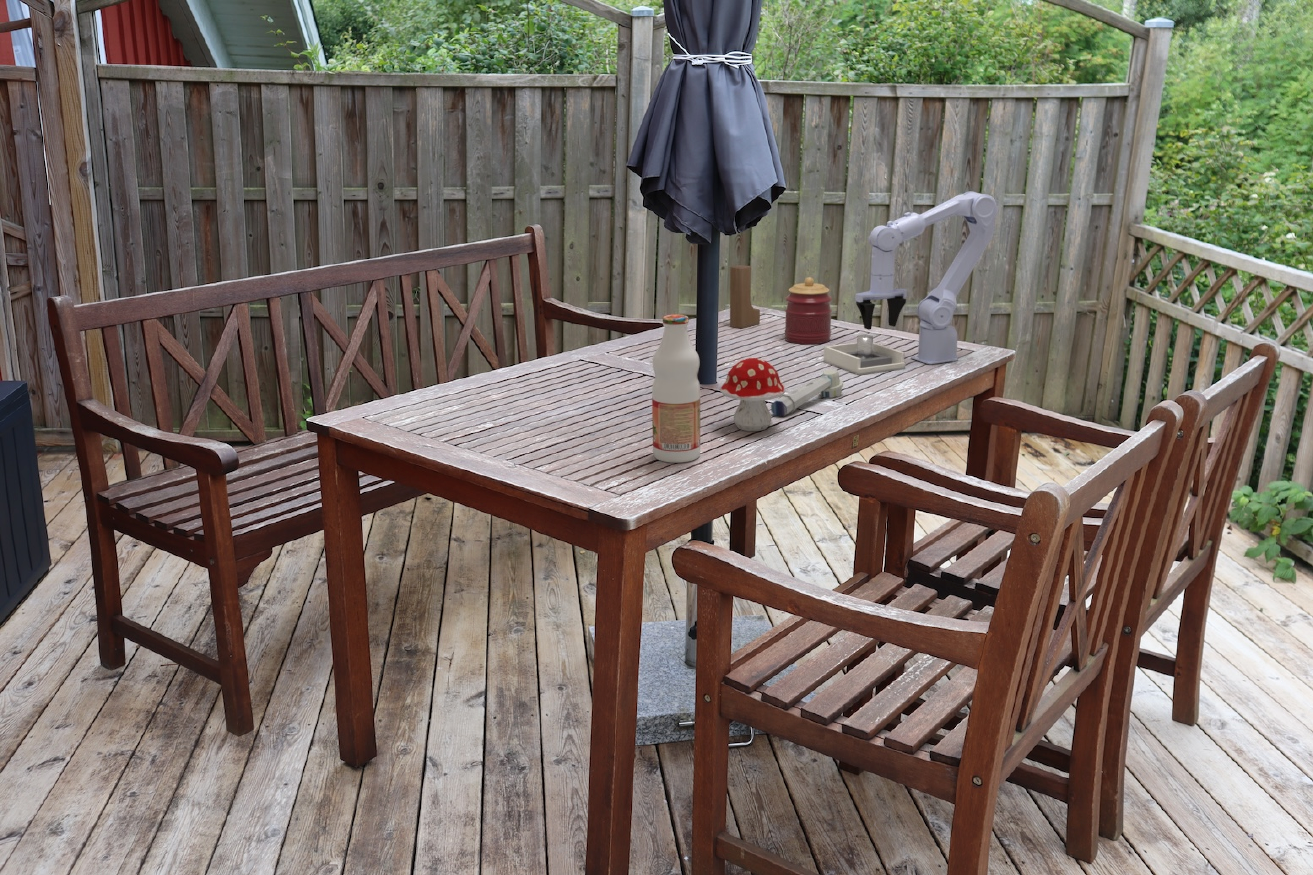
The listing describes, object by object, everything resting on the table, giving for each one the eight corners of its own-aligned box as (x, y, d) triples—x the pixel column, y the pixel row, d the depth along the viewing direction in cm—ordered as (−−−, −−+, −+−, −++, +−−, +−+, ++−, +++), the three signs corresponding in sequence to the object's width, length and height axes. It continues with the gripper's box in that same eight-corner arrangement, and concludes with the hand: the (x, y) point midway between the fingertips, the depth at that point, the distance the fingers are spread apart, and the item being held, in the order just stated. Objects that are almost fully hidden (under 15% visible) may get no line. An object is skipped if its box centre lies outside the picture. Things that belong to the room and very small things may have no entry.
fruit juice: (675, 467, 225) (674, 323, 217) (643, 456, 232) (640, 316, 224) (710, 456, 232) (710, 316, 223) (677, 445, 238) (676, 309, 230)
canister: (786, 345, 324) (787, 281, 318) (782, 334, 336) (784, 273, 331) (833, 344, 323) (835, 281, 318) (828, 334, 336) (830, 273, 330)
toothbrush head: (767, 398, 258) (827, 361, 275) (769, 426, 260) (828, 388, 278) (787, 402, 255) (847, 364, 272) (789, 430, 257) (847, 391, 274)
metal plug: (865, 360, 303) (866, 334, 301) (875, 364, 300) (876, 337, 297) (853, 362, 301) (854, 335, 299) (862, 365, 298) (863, 338, 296)
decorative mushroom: (764, 441, 241) (765, 369, 236) (707, 430, 248) (707, 361, 244) (796, 424, 251) (798, 356, 247) (741, 414, 259) (741, 348, 255)
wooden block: (748, 322, 353) (749, 262, 348) (760, 324, 350) (761, 264, 345) (729, 327, 347) (729, 266, 342) (741, 329, 344) (741, 267, 339)
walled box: (868, 355, 310) (868, 340, 309) (905, 368, 297) (906, 353, 295) (823, 361, 305) (823, 346, 303) (859, 375, 291) (859, 359, 290)
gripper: (896, 269, 302) (893, 321, 306) (849, 274, 296) (847, 327, 300) (913, 273, 296) (910, 326, 300) (865, 278, 290) (863, 332, 294)
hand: (879, 327), depth 300 cm, fingers open, 7 cm apart
